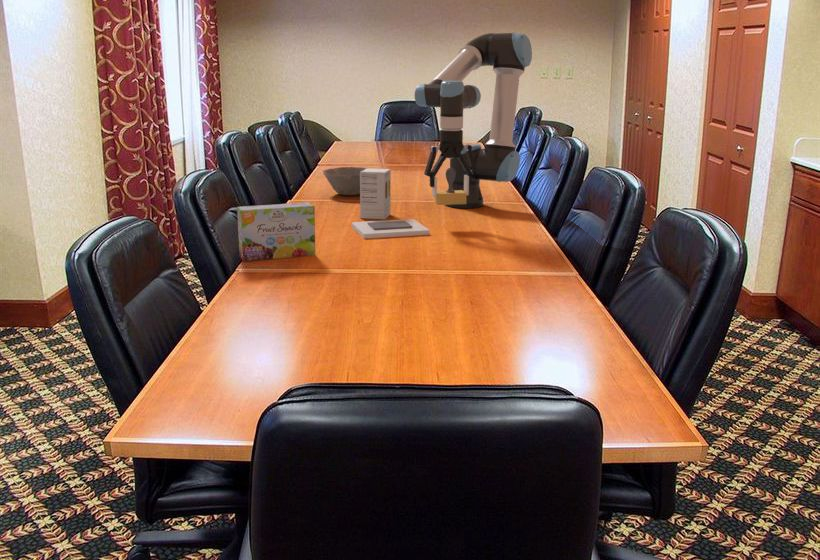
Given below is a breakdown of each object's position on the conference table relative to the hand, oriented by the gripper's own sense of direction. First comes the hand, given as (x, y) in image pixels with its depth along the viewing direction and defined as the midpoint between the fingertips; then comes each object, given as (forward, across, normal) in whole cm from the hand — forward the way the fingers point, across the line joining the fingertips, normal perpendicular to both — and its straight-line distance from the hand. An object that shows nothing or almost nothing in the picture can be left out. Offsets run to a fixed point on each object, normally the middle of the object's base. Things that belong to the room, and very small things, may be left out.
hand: (450, 195), depth 253 cm
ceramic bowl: (+12, +20, -68) cm, 72 cm away
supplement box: (+11, +20, -23) cm, 32 cm away
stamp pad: (+10, +22, 0) cm, 24 cm away
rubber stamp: (+3, 0, 0) cm, 3 cm away
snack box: (+10, +62, +24) cm, 67 cm away
